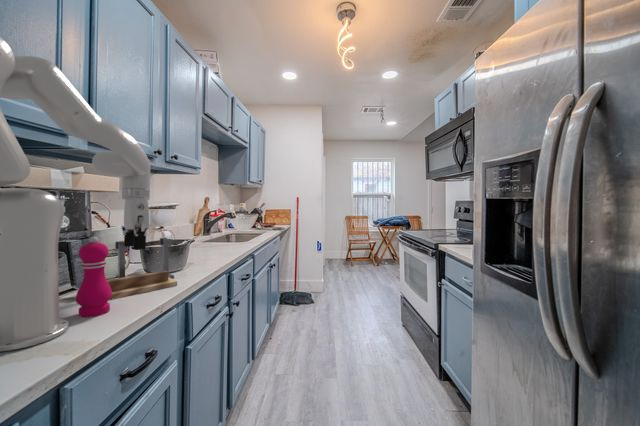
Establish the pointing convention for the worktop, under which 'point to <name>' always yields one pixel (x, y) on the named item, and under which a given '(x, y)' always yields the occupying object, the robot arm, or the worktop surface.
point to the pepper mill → (93, 280)
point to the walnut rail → (138, 280)
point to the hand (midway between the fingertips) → (134, 247)
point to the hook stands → (121, 248)
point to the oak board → (143, 288)
